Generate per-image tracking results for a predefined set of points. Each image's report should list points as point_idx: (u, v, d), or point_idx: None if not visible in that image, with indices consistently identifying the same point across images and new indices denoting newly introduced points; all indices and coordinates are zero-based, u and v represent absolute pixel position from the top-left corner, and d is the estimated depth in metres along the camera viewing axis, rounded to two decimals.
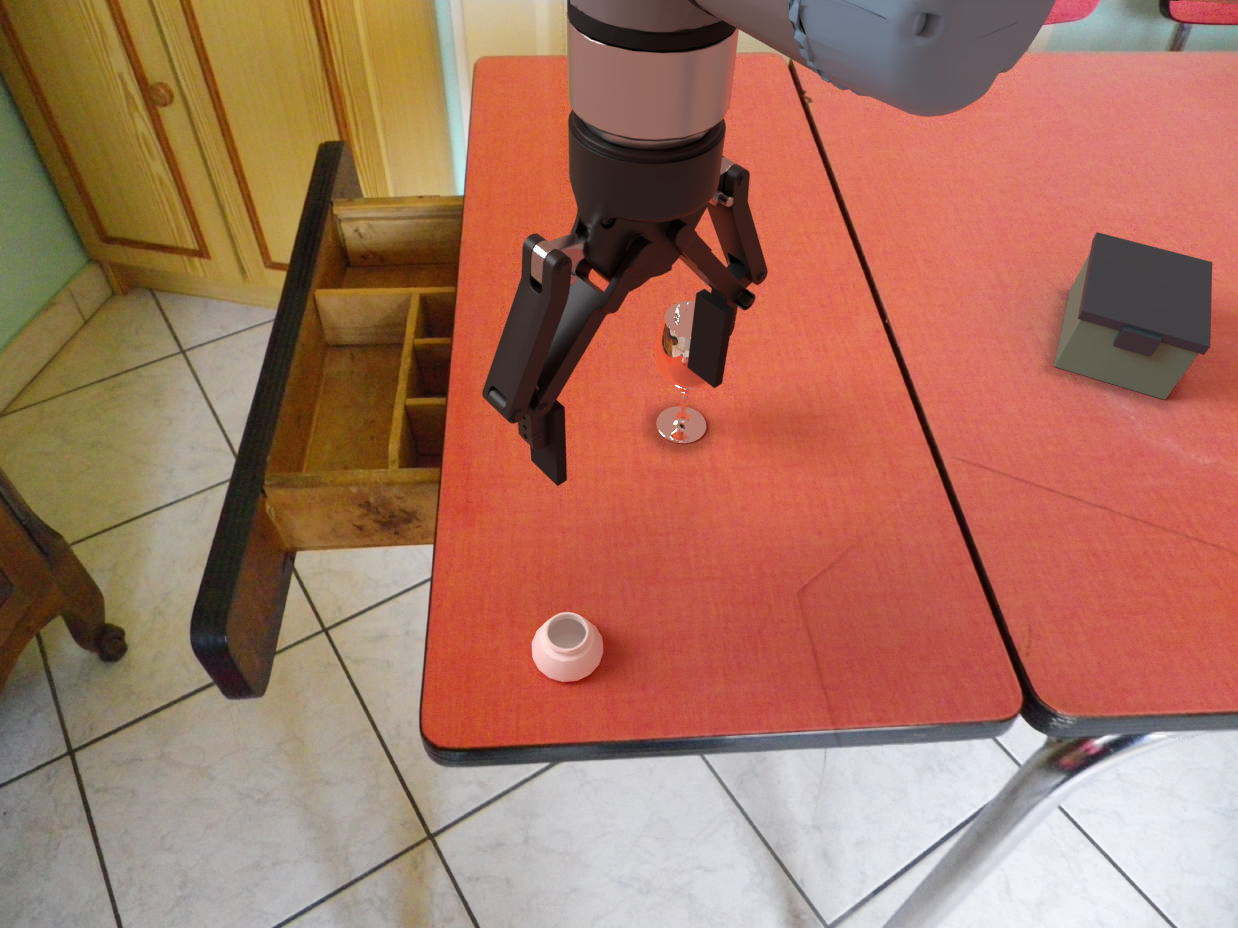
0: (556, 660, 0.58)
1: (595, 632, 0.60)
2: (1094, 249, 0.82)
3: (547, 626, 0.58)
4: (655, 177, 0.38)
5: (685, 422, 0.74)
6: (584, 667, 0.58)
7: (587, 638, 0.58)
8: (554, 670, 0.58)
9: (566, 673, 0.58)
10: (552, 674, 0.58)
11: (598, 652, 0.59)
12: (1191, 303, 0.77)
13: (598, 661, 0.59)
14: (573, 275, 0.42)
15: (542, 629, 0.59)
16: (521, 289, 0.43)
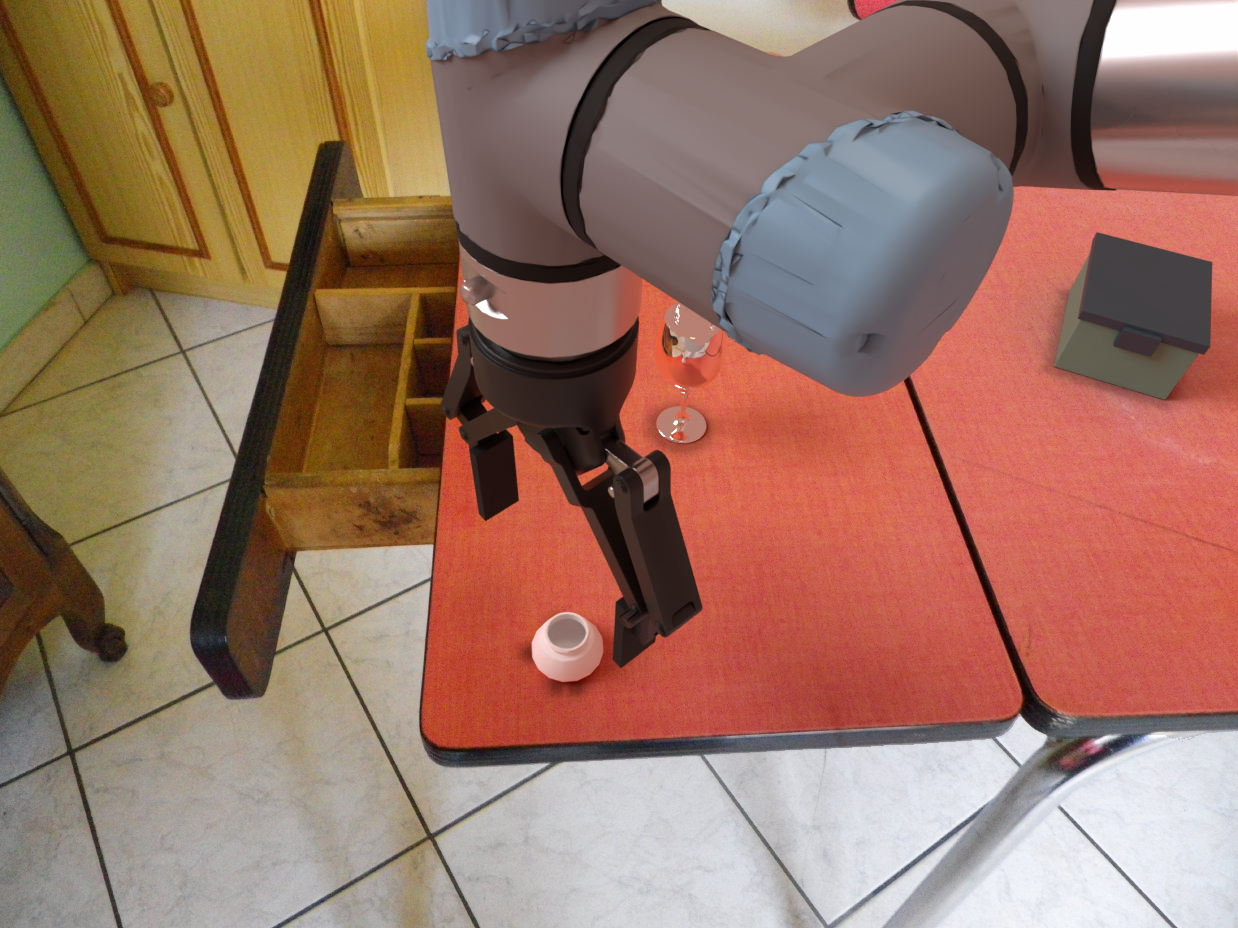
0: (556, 660, 0.58)
1: (595, 632, 0.60)
2: (1094, 249, 0.82)
3: (547, 626, 0.58)
4: None
5: (685, 422, 0.74)
6: (584, 667, 0.58)
7: (587, 638, 0.58)
8: (554, 670, 0.58)
9: (566, 673, 0.58)
10: (552, 674, 0.58)
11: (598, 652, 0.59)
12: (1191, 303, 0.77)
13: (598, 661, 0.59)
14: None
15: (542, 629, 0.59)
16: (639, 526, 0.39)
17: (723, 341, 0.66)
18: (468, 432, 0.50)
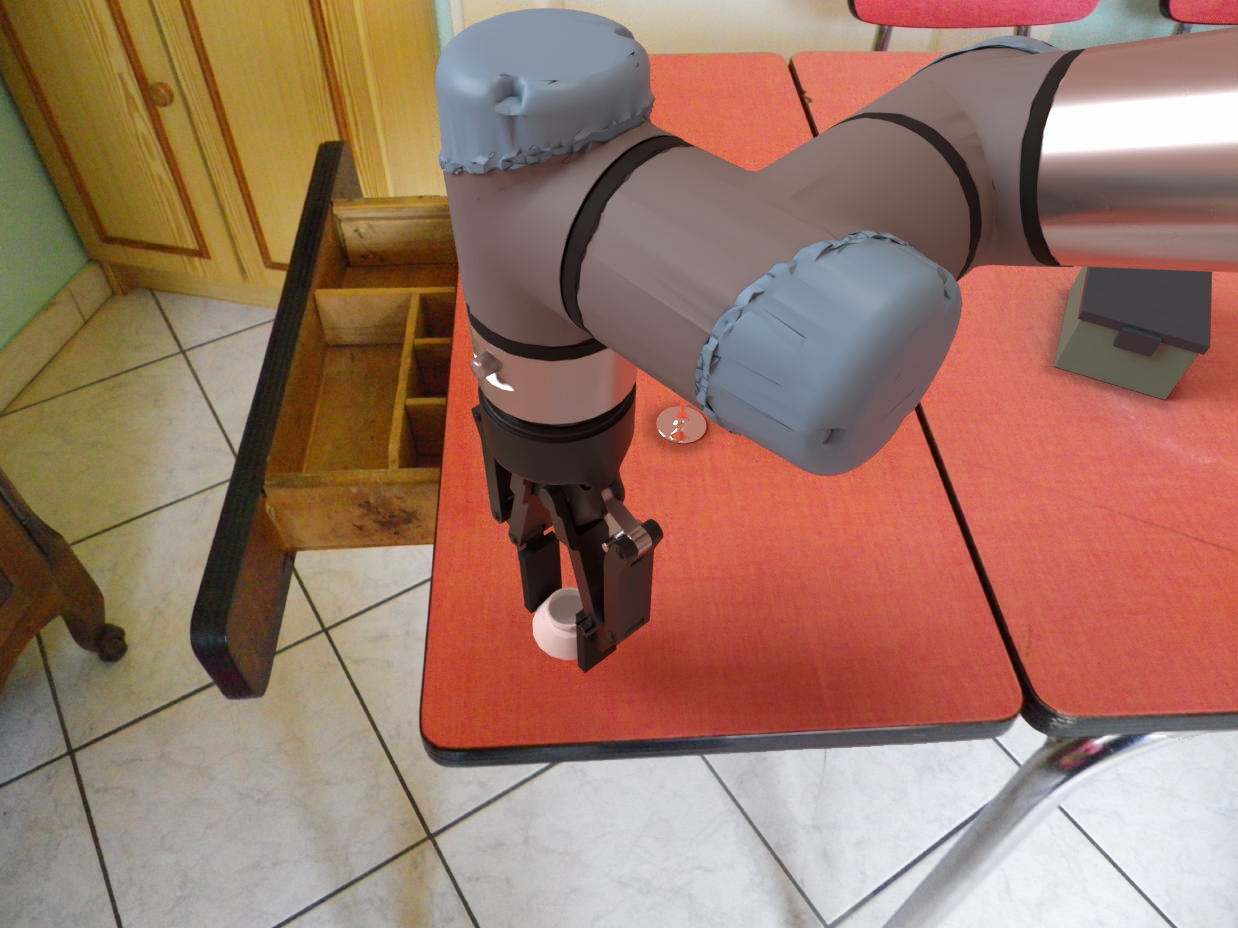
0: (558, 637, 0.55)
1: None
2: None
3: (548, 602, 0.56)
4: None
5: (685, 422, 0.74)
6: None
7: None
8: (556, 648, 0.55)
9: (568, 651, 0.55)
10: (553, 652, 0.56)
11: None
12: (1191, 303, 0.77)
13: None
14: (641, 522, 0.43)
15: (543, 605, 0.56)
16: (622, 577, 0.43)
17: None
18: (514, 532, 0.53)
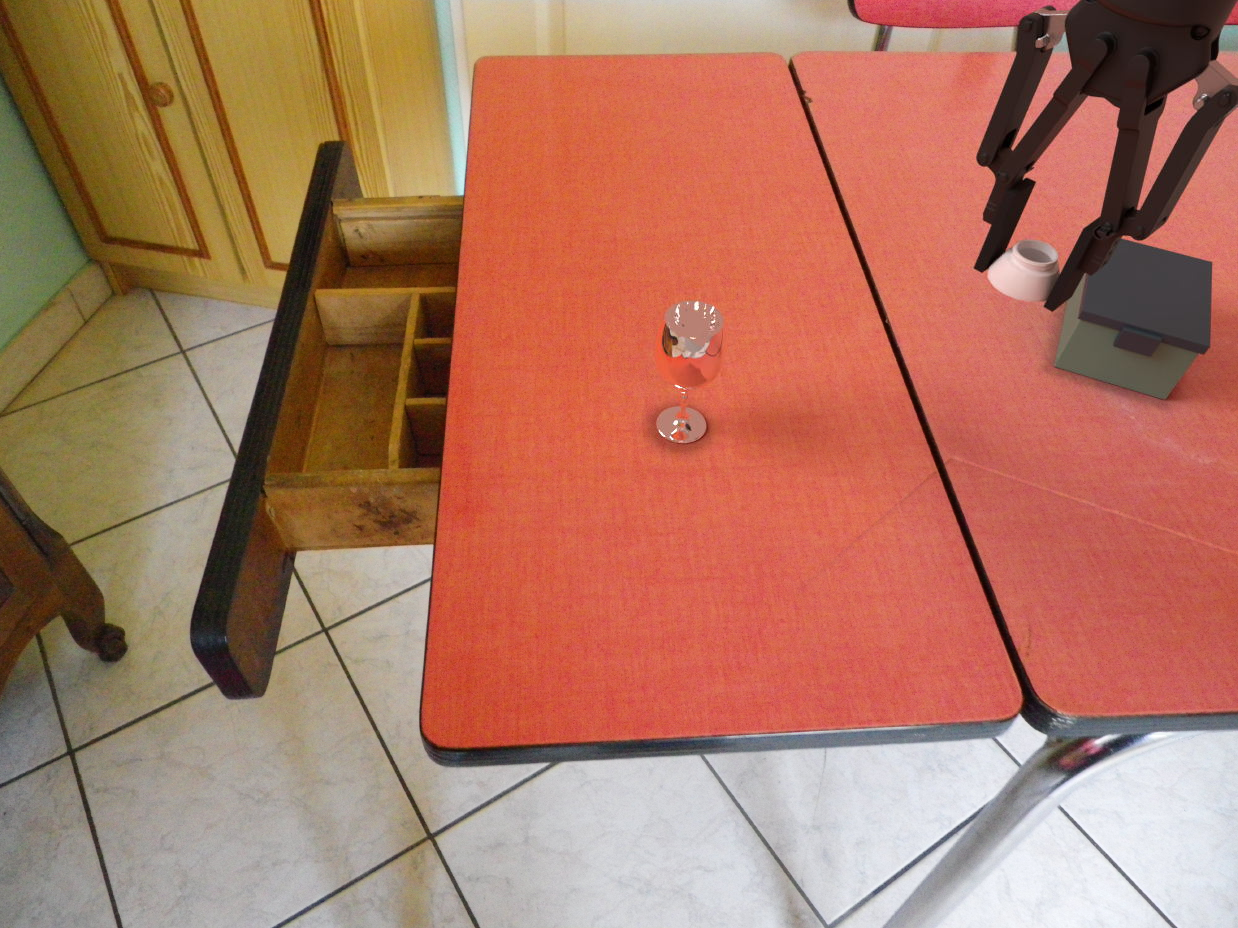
0: (1031, 277, 0.60)
1: None
2: None
3: (1016, 248, 0.61)
4: None
5: (685, 422, 0.74)
6: (1052, 287, 0.61)
7: (1057, 257, 0.60)
8: (1025, 289, 0.60)
9: (1038, 291, 0.60)
10: (1022, 293, 0.60)
11: None
12: (1191, 303, 0.77)
13: None
14: None
15: (1005, 256, 0.61)
16: (1203, 139, 0.48)
17: (723, 341, 0.66)
18: (1010, 166, 0.58)
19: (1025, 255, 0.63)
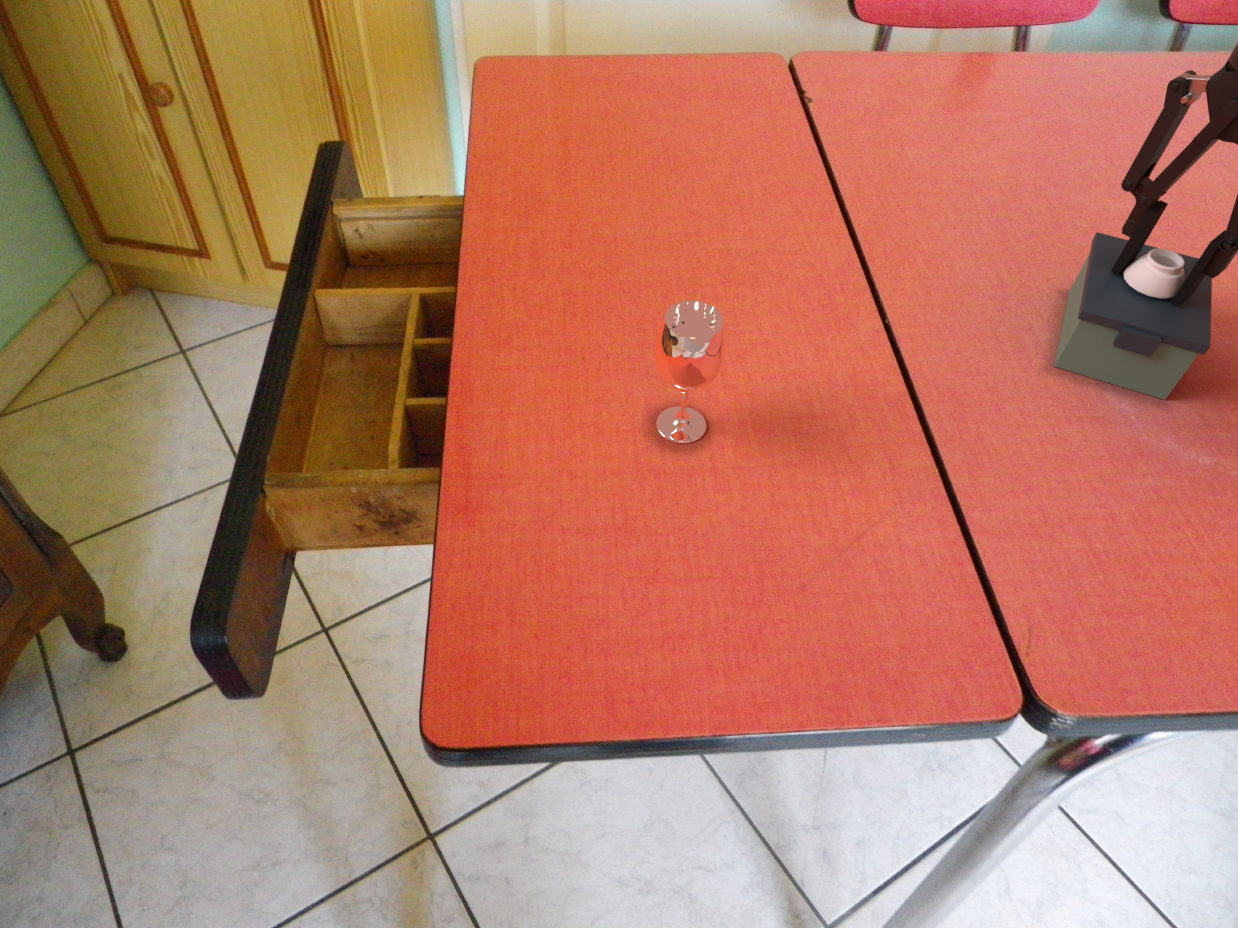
0: (1162, 278, 0.76)
1: (1178, 265, 0.78)
2: (1094, 249, 0.82)
3: (1150, 255, 0.77)
4: None
5: (685, 422, 0.74)
6: (1178, 286, 0.77)
7: (1183, 263, 0.76)
8: (1157, 288, 0.76)
9: (1167, 289, 0.76)
10: (1154, 291, 0.77)
11: None
12: (1191, 303, 0.77)
13: None
14: None
15: (1140, 261, 0.77)
16: None
17: (723, 341, 0.66)
18: (1151, 192, 0.74)
19: None
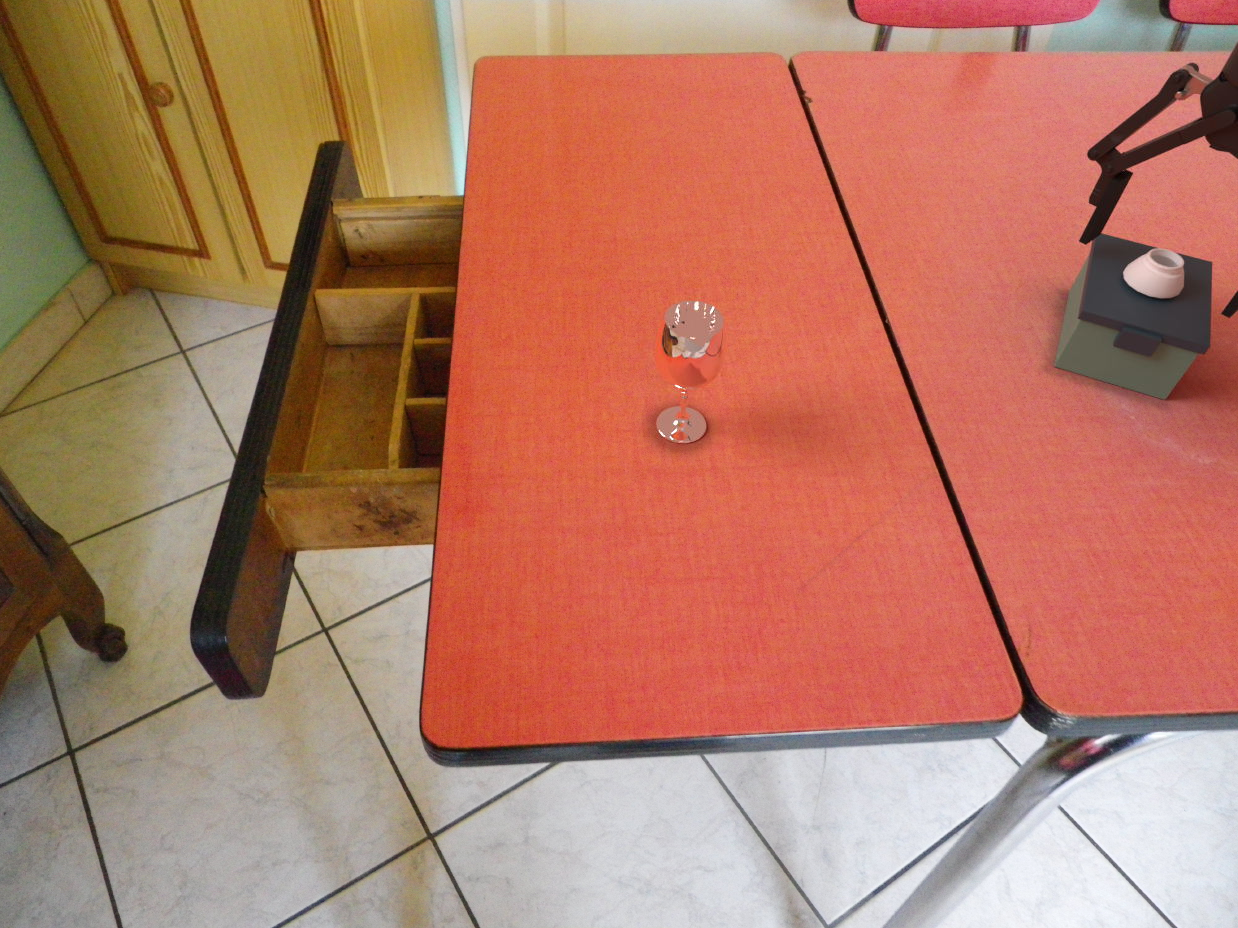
0: (1162, 278, 0.76)
1: (1178, 265, 0.78)
2: (1094, 249, 0.82)
3: (1150, 255, 0.77)
4: None
5: (685, 422, 0.74)
6: (1178, 286, 0.77)
7: None
8: (1157, 288, 0.76)
9: (1167, 289, 0.76)
10: (1154, 291, 0.77)
11: None
12: (1191, 303, 0.77)
13: (1183, 286, 0.77)
14: None
15: (1140, 261, 0.77)
16: None
17: (723, 341, 0.66)
18: (1119, 164, 0.74)
19: None
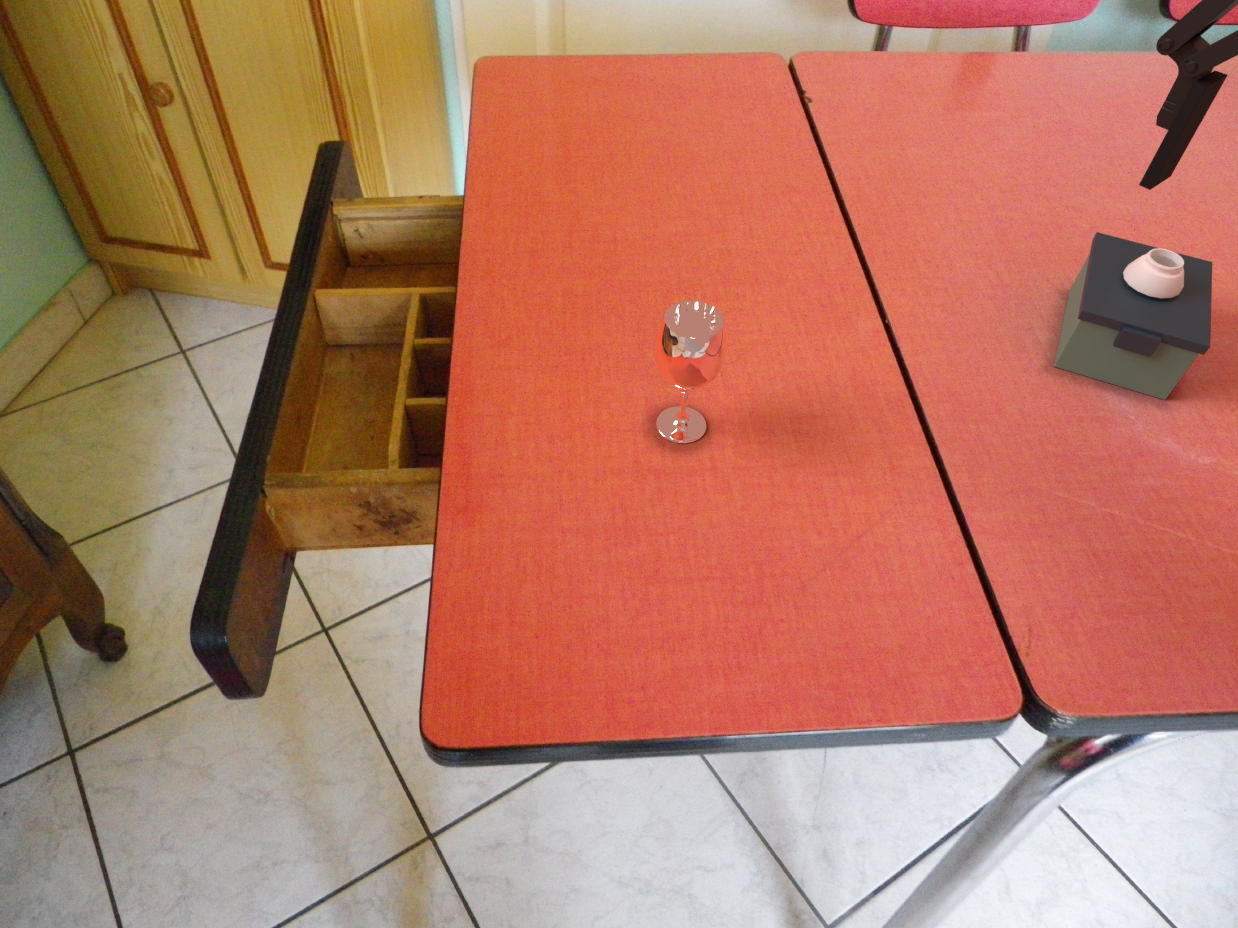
0: (1162, 278, 0.76)
1: (1178, 265, 0.78)
2: (1094, 249, 0.82)
3: (1150, 255, 0.77)
4: None
5: (685, 422, 0.74)
6: (1178, 286, 0.77)
7: None
8: (1157, 288, 0.76)
9: (1167, 289, 0.76)
10: (1154, 291, 0.77)
11: None
12: (1191, 303, 0.77)
13: (1183, 286, 0.77)
14: None
15: (1140, 261, 0.77)
16: None
17: (723, 341, 0.66)
18: (1208, 56, 0.48)
19: None
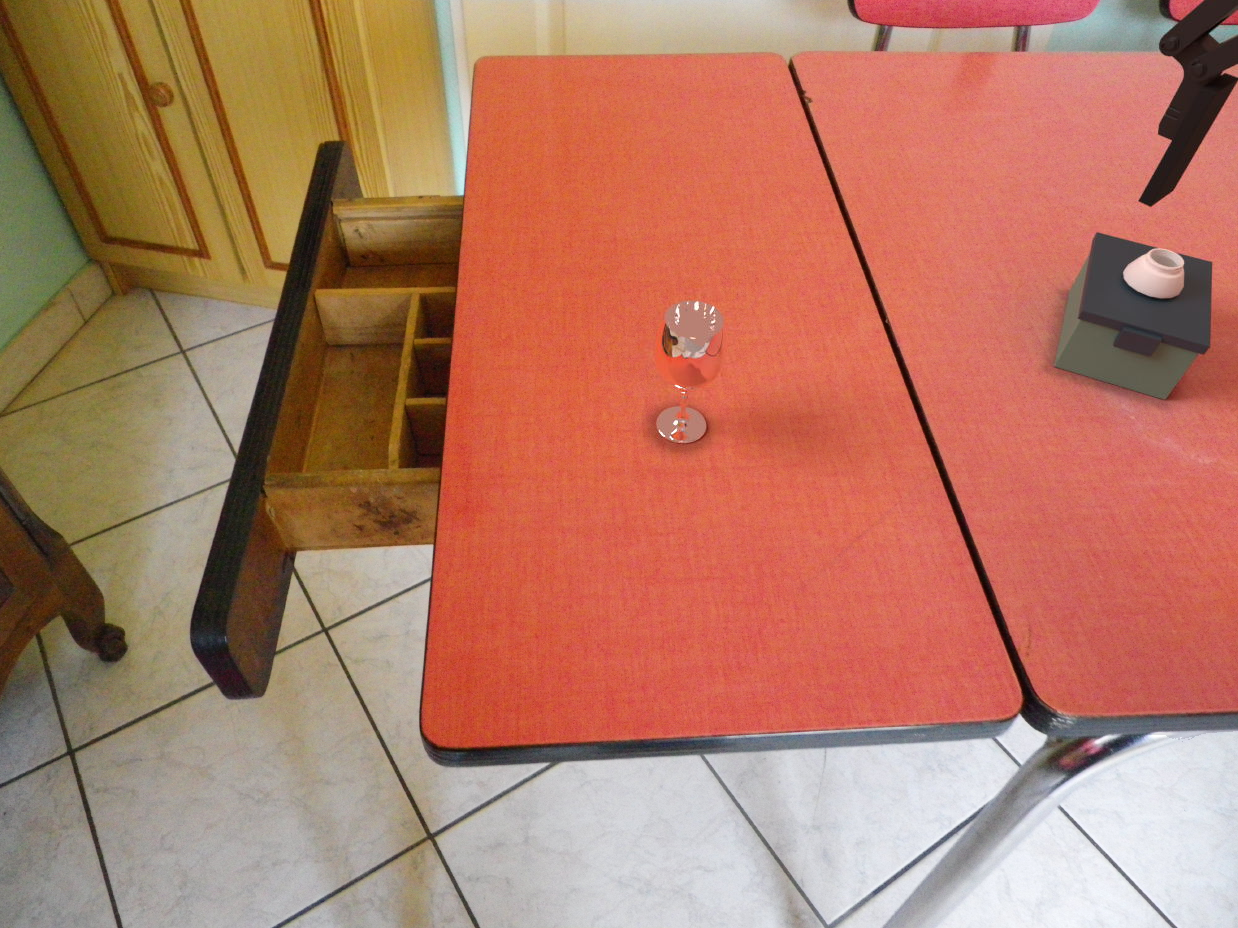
0: (1162, 278, 0.76)
1: (1178, 265, 0.78)
2: (1094, 249, 0.82)
3: (1150, 255, 0.77)
4: None
5: (685, 422, 0.74)
6: (1178, 286, 0.77)
7: None
8: (1157, 288, 0.76)
9: (1167, 289, 0.76)
10: (1154, 291, 0.77)
11: None
12: (1191, 303, 0.77)
13: (1183, 286, 0.77)
14: None
15: (1140, 261, 0.77)
16: None
17: (723, 341, 0.66)
18: (1218, 58, 0.42)
19: None
